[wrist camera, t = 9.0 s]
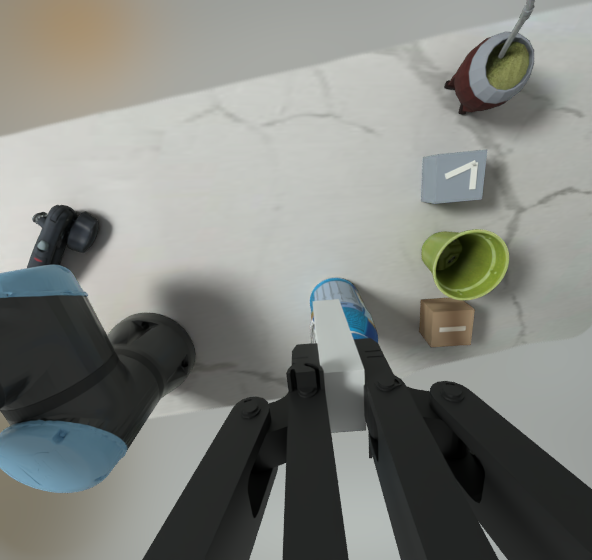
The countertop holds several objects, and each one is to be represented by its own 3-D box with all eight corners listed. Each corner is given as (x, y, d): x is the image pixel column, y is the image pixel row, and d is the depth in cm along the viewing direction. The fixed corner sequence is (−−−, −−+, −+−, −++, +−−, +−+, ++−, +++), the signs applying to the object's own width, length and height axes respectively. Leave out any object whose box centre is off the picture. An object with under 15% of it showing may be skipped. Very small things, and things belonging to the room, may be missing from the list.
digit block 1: (418, 331, 50) (431, 347, 45) (420, 299, 48) (433, 312, 43) (454, 329, 49) (471, 345, 44) (457, 296, 47) (475, 309, 43)
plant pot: (485, 242, 44) (526, 256, 36) (442, 290, 47) (471, 313, 39) (439, 208, 43) (470, 214, 35) (397, 259, 46) (417, 276, 37)
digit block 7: (420, 201, 43) (435, 203, 38) (422, 157, 41) (438, 154, 36) (462, 197, 42) (482, 199, 37) (466, 153, 40) (488, 149, 36)
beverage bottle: (333, 265, 46) (352, 323, 27) (370, 297, 48) (412, 373, 29) (298, 301, 48) (294, 378, 29) (335, 331, 50) (353, 422, 31)
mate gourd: (485, 120, 39) (588, 85, 25) (428, 113, 39) (498, 74, 25) (505, 55, 37) (631, -26, 22) (443, 47, 37) (531, -39, 22)
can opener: (69, 192, 44) (36, 193, 39) (109, 222, 45) (83, 227, 40) (23, 275, 49) (-12, 286, 43) (60, 300, 50) (31, 314, 45)
